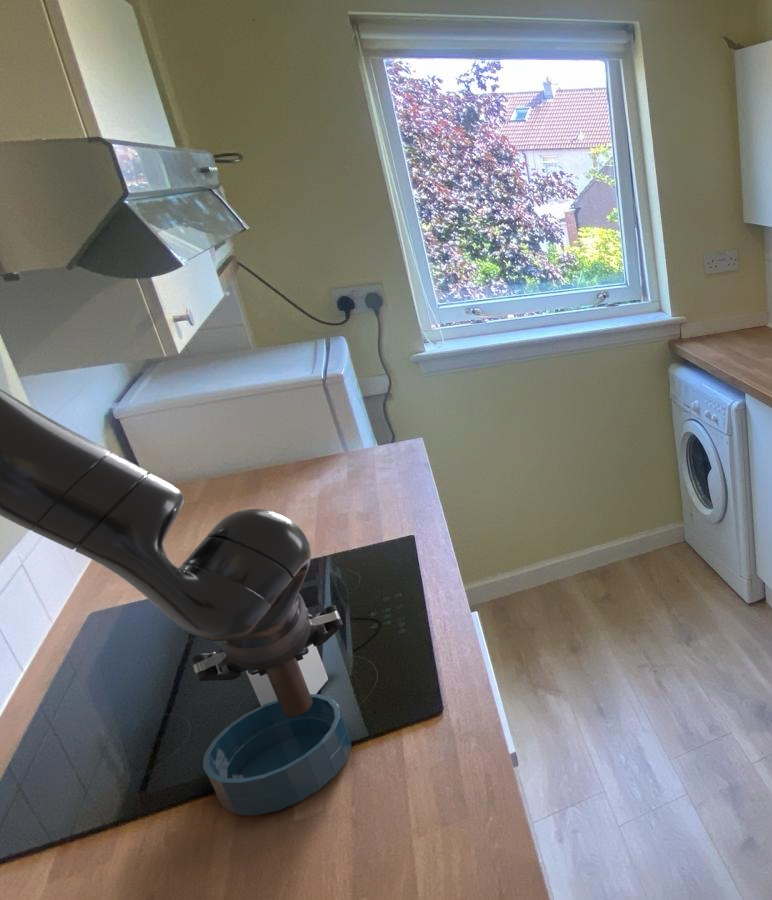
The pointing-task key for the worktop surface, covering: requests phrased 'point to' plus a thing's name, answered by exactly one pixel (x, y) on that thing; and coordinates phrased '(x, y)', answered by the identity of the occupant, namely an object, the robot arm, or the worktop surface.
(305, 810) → the worktop surface
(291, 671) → the brown tall cylinder
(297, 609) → the robot arm
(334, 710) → the bowl
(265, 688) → the milk
